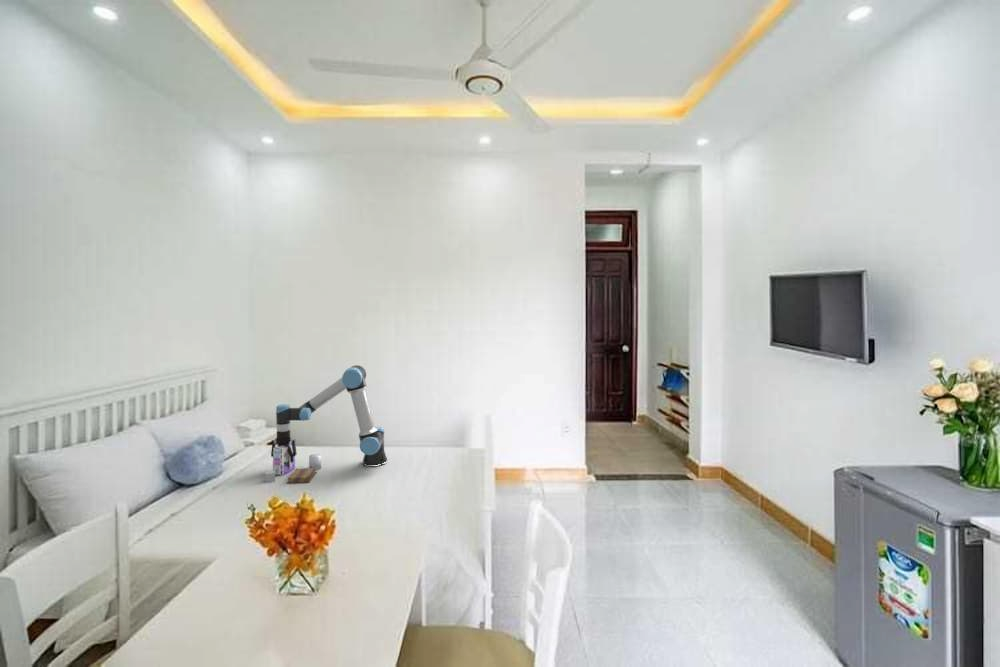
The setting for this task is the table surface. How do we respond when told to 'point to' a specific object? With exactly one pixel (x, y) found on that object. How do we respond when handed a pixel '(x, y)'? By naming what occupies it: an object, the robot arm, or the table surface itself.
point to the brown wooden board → (302, 475)
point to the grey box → (270, 476)
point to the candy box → (282, 460)
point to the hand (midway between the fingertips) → (284, 467)
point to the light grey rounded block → (315, 461)
